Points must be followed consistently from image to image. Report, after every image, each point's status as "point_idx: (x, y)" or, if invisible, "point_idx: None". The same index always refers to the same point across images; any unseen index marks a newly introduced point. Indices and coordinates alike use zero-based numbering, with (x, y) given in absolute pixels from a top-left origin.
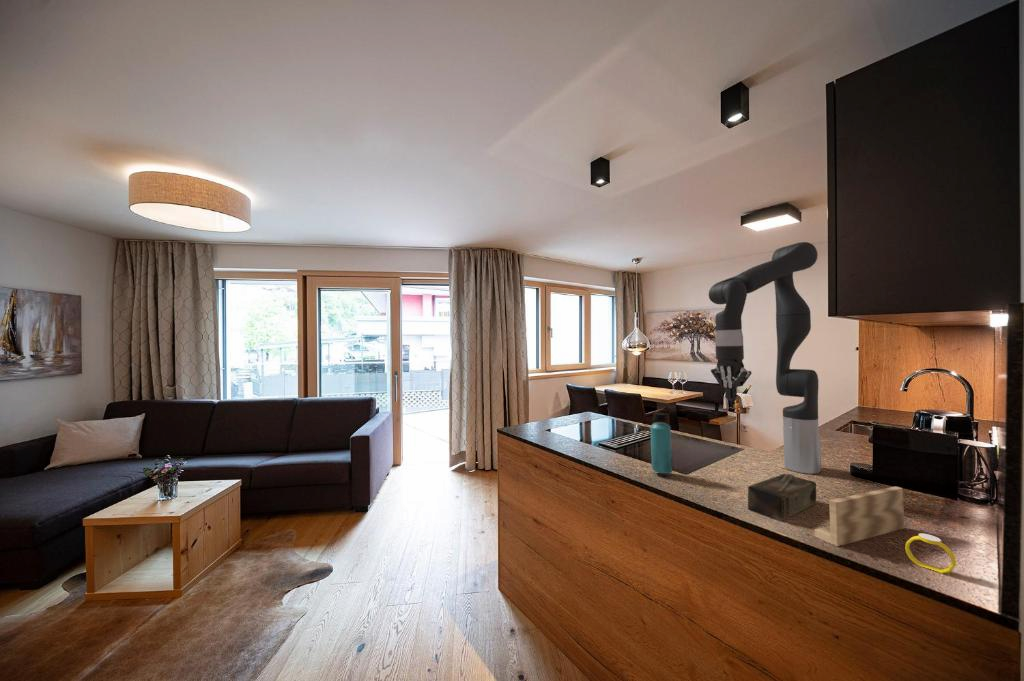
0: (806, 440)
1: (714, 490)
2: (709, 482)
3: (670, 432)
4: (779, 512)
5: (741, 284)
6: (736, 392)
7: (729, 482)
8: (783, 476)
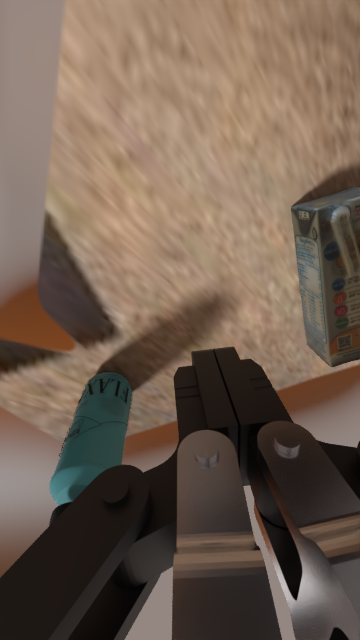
0: None
1: (219, 339)
2: (179, 319)
3: (109, 459)
4: None
5: None
6: (277, 398)
7: (192, 275)
8: (331, 236)
